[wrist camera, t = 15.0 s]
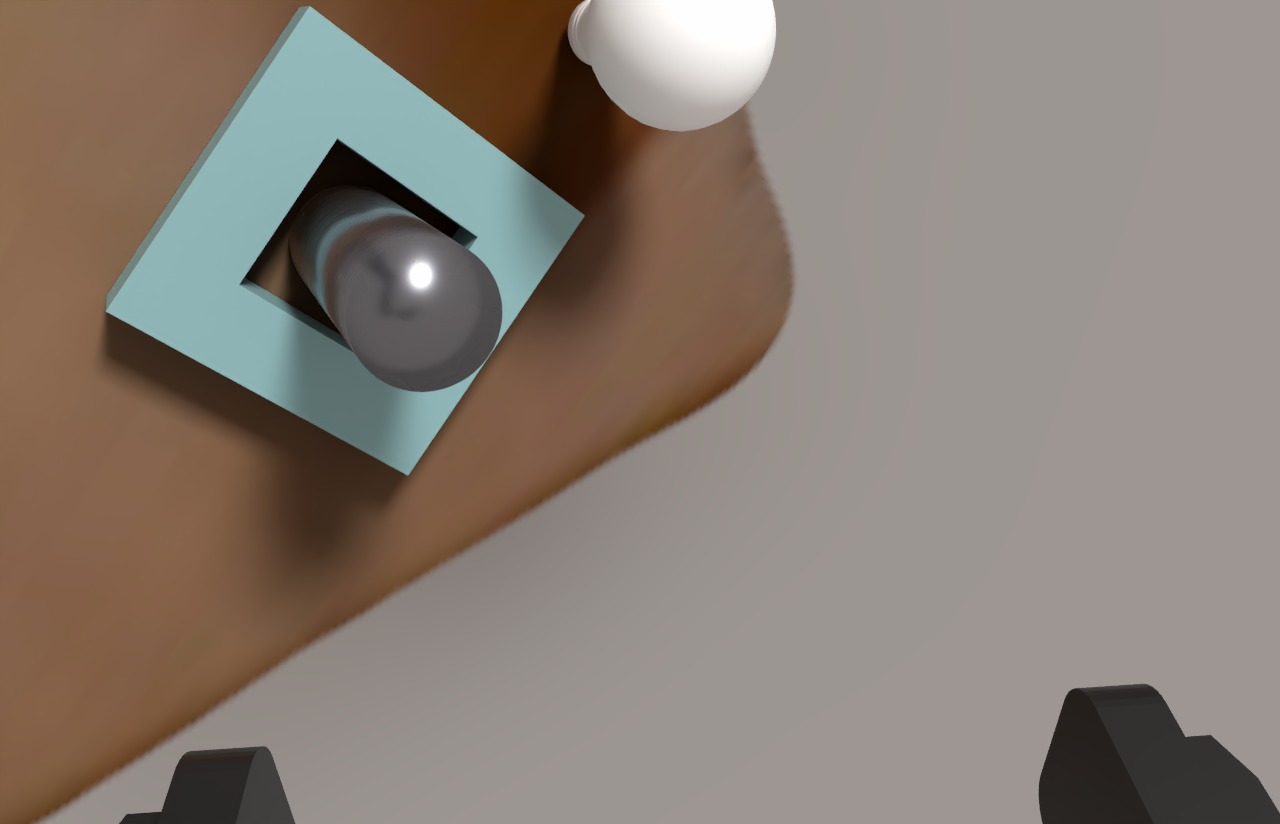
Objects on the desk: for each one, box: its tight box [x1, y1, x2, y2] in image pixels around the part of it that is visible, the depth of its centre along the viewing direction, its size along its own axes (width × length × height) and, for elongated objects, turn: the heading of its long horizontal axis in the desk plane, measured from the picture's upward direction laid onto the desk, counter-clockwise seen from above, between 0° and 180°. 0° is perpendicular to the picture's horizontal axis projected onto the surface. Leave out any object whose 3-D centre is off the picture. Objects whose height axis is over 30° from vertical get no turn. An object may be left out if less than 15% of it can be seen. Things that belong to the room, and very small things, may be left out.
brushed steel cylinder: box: [289, 184, 502, 392], centre depth 36 cm, size 4×4×12 cm
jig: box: [106, 6, 585, 475], centre depth 40 cm, size 12×12×2 cm
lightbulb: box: [568, 0, 776, 131], centre depth 38 cm, size 6×6×11 cm
